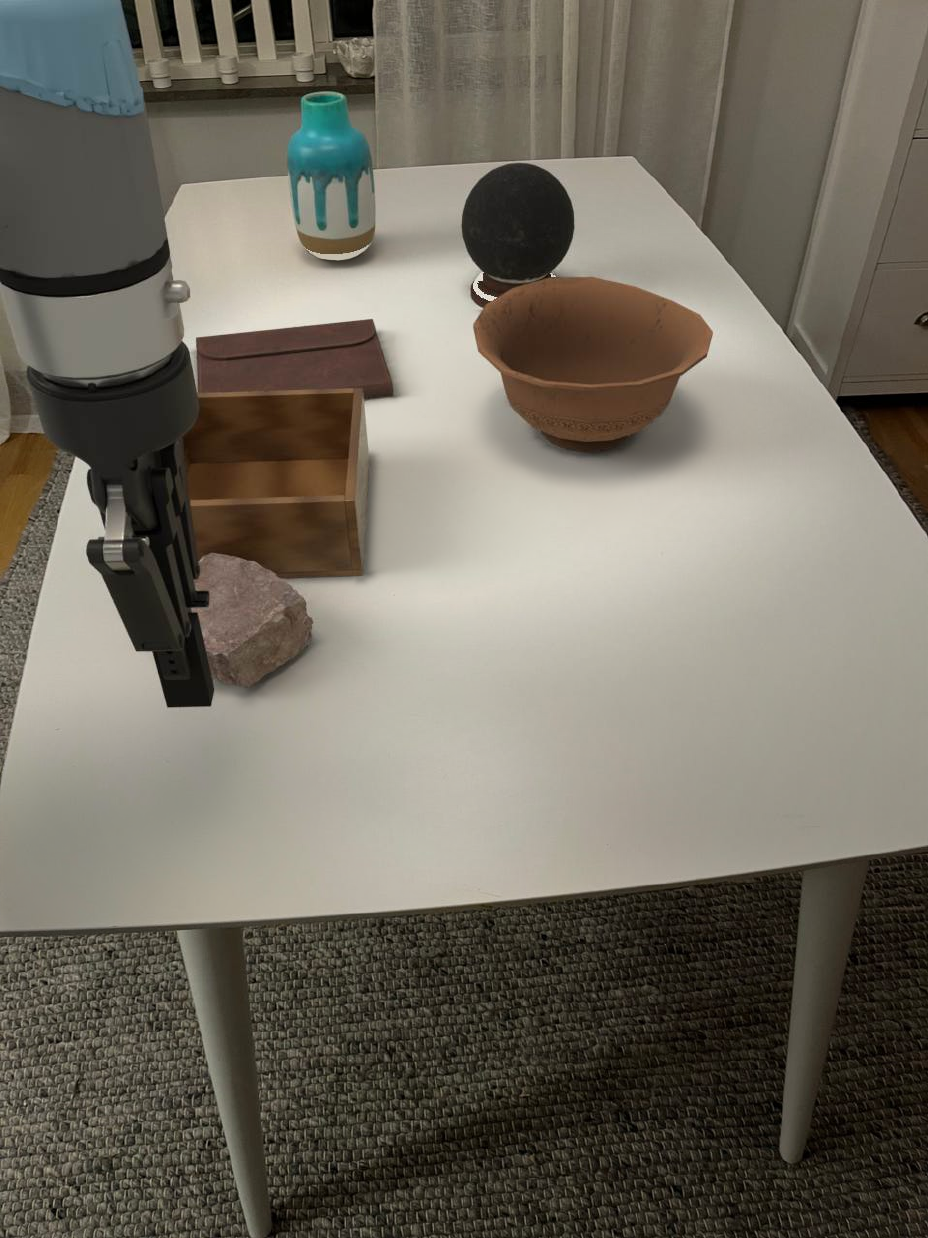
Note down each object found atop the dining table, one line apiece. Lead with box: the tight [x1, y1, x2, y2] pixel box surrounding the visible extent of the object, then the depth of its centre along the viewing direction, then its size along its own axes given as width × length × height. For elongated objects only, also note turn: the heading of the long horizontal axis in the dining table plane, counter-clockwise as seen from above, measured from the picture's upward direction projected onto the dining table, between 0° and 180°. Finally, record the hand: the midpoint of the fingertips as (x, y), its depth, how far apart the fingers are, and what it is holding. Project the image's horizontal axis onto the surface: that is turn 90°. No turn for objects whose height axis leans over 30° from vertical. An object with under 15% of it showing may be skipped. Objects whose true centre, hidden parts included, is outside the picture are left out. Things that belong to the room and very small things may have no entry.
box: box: [183, 388, 370, 579], centre depth 88 cm, size 18×18×8 cm
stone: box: [191, 553, 314, 688], centre depth 77 cm, size 12×9×5 cm
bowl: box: [472, 276, 714, 453], centre depth 97 cm, size 22×22×11 cm
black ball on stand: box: [460, 162, 576, 309], centre depth 119 cm, size 13×13×15 cm
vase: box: [286, 91, 377, 254], centre depth 127 cm, size 11×11×19 cm
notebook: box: [195, 318, 394, 400], centre depth 109 cm, size 15×20×2 cm
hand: (191, 698), depth 64 cm, fingers closed
